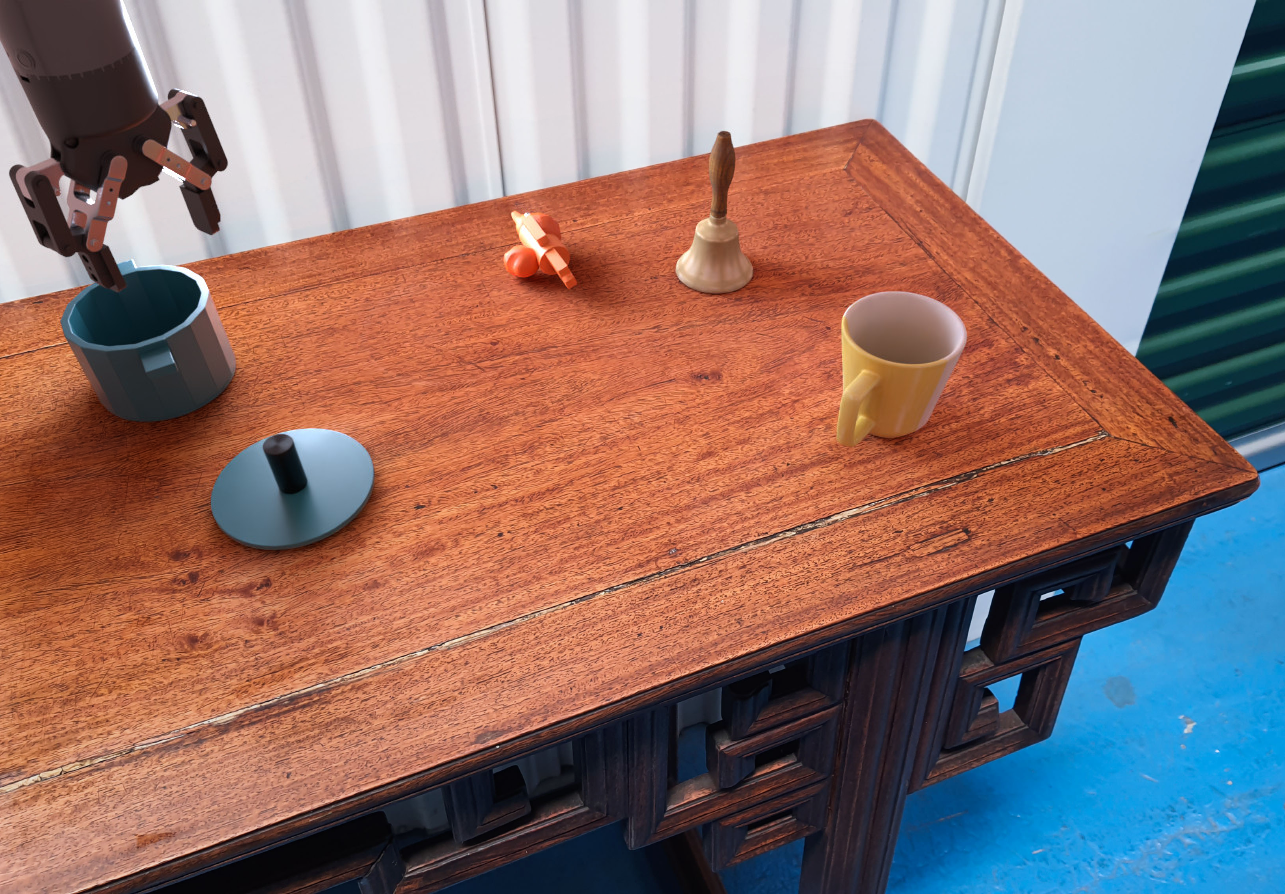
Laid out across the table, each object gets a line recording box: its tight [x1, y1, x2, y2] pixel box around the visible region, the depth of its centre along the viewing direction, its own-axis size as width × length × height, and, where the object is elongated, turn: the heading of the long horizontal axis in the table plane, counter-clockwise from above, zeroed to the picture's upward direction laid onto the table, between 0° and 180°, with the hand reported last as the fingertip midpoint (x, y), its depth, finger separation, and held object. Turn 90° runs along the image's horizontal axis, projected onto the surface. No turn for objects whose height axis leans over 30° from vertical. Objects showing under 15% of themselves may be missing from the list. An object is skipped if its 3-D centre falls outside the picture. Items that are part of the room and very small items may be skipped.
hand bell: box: [675, 130, 754, 294], centre depth 100 cm, size 8×8×16 cm
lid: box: [210, 427, 376, 551], centre depth 82 cm, size 13×13×6 cm
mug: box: [835, 290, 968, 448], centre depth 86 cm, size 14×10×10 cm
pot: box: [59, 259, 237, 423], centre depth 92 cm, size 12×18×8 cm
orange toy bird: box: [503, 210, 578, 290], centre depth 105 cm, size 5×8×12 cm
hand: (162, 257), depth 75 cm, fingers open, 8 cm apart
